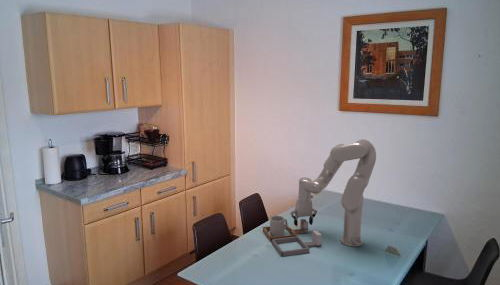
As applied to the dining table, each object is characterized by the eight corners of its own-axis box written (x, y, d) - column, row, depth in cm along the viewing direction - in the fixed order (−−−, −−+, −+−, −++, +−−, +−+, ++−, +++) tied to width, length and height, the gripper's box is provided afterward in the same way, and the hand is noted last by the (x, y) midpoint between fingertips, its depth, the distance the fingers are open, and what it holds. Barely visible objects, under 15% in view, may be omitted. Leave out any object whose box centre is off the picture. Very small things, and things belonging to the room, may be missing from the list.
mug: (276, 240, 218) (276, 222, 216) (267, 235, 224) (267, 217, 222) (291, 234, 225) (291, 217, 223) (282, 230, 231) (282, 213, 229)
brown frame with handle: (312, 236, 221) (312, 225, 220) (270, 242, 215) (270, 230, 213) (301, 226, 237) (302, 215, 235) (262, 230, 230) (262, 219, 229)
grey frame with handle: (326, 250, 204) (326, 238, 203) (281, 256, 198) (281, 243, 196) (313, 238, 219) (314, 226, 218) (271, 243, 213) (272, 231, 212)
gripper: (315, 195, 230) (313, 221, 234) (288, 197, 226) (287, 223, 229) (320, 199, 223) (318, 225, 227) (293, 201, 219) (292, 228, 222)
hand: (303, 224), depth 228 cm, fingers open, 9 cm apart
